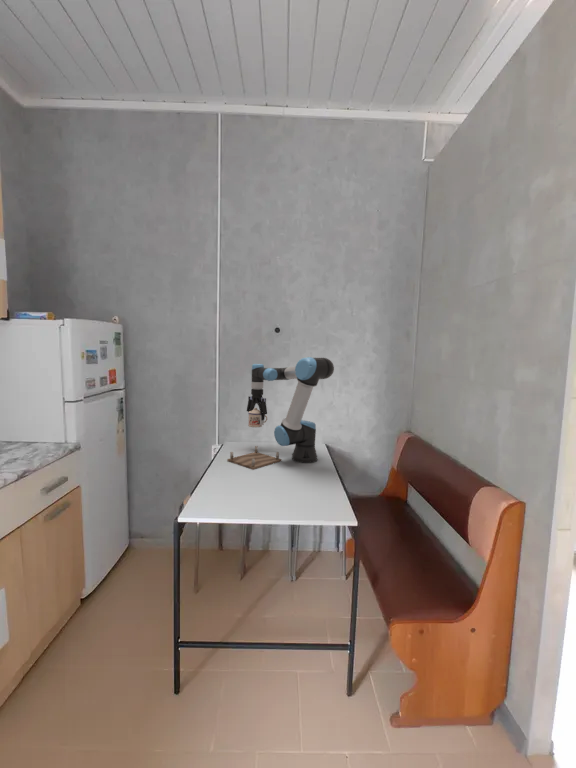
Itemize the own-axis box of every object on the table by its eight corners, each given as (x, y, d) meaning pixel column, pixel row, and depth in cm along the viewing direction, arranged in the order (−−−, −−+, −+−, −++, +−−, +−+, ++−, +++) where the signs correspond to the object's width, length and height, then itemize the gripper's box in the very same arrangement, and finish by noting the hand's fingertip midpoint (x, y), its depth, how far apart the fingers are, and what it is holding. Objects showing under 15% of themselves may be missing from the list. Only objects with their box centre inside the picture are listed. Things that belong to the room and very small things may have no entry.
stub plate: (281, 461, 227) (281, 452, 226) (253, 469, 209) (253, 460, 209) (256, 453, 240) (256, 445, 240) (227, 461, 223) (227, 452, 222)
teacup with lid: (247, 427, 242) (247, 408, 241) (249, 424, 251) (249, 406, 250) (266, 428, 241) (266, 409, 240) (267, 425, 250) (268, 407, 249)
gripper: (273, 389, 240) (272, 425, 242) (249, 386, 255) (249, 420, 256) (265, 390, 235) (264, 427, 237) (241, 387, 249) (240, 422, 251)
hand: (256, 423), depth 246 cm, fingers closed on teacup with lid, 9 cm apart
